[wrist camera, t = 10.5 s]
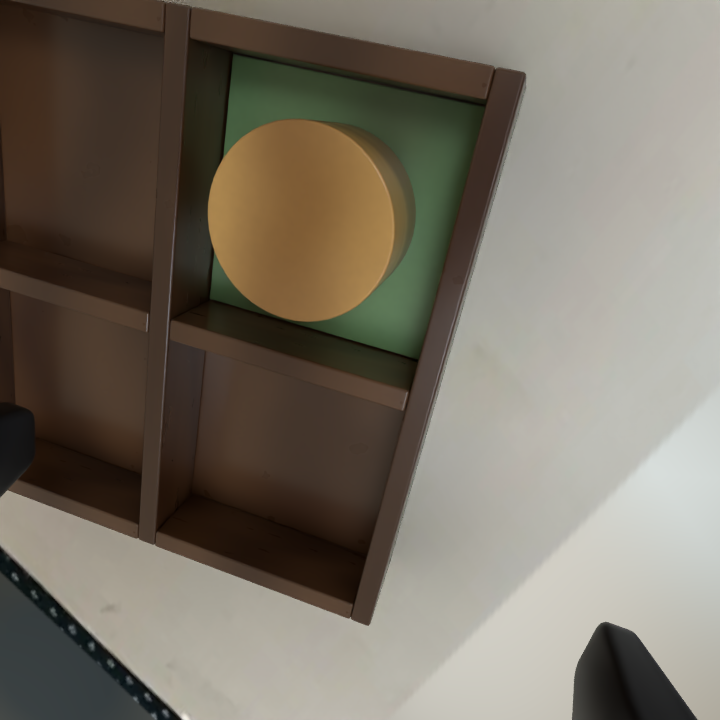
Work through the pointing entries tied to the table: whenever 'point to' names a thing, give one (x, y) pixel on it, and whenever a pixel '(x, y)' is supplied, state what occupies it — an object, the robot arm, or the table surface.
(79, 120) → the compartment tray
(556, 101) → the table surface
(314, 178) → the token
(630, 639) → the robot arm
